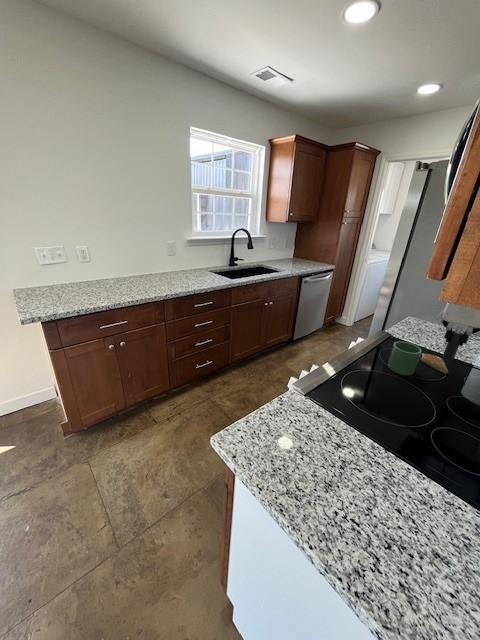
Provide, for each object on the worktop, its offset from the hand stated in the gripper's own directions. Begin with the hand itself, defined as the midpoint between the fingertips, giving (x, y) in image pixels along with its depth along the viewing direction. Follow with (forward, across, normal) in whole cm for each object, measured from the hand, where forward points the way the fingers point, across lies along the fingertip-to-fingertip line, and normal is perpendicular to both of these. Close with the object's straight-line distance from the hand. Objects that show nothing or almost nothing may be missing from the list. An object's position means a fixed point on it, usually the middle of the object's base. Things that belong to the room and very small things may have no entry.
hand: (454, 342), depth 84 cm
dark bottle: (+6, 0, 0) cm, 6 cm away
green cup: (+16, -12, 0) cm, 19 cm away
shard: (+16, -2, +13) cm, 21 cm away
